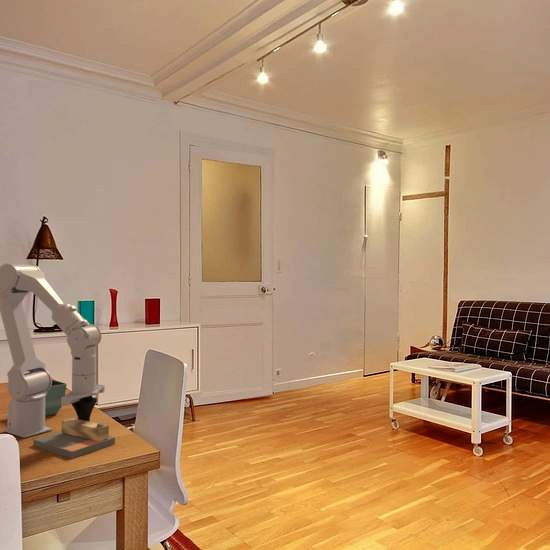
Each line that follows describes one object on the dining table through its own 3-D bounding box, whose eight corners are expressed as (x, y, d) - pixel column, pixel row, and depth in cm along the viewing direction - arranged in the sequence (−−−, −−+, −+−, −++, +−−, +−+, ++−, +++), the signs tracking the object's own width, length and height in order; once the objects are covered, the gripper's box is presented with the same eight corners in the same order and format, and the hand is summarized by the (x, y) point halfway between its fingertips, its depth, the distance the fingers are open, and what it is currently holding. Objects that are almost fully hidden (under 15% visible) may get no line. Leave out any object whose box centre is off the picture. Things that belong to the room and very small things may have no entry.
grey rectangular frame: (33, 445, 122) (33, 438, 122) (76, 432, 132) (76, 426, 132) (71, 458, 114) (71, 451, 114) (114, 443, 124) (114, 437, 124)
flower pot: (52, 408, 155) (52, 379, 155) (67, 413, 149) (67, 383, 149) (23, 414, 148) (23, 383, 148) (37, 420, 142) (37, 388, 142)
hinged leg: (108, 437, 123) (108, 423, 123) (98, 441, 120) (99, 426, 120) (71, 429, 129) (71, 415, 129) (61, 432, 126) (61, 418, 126)
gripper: (78, 380, 120) (78, 437, 120) (114, 369, 134) (114, 420, 134) (54, 378, 122) (53, 434, 122) (91, 367, 135) (91, 417, 136)
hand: (83, 427), depth 128 cm, fingers closed, pressing on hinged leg
